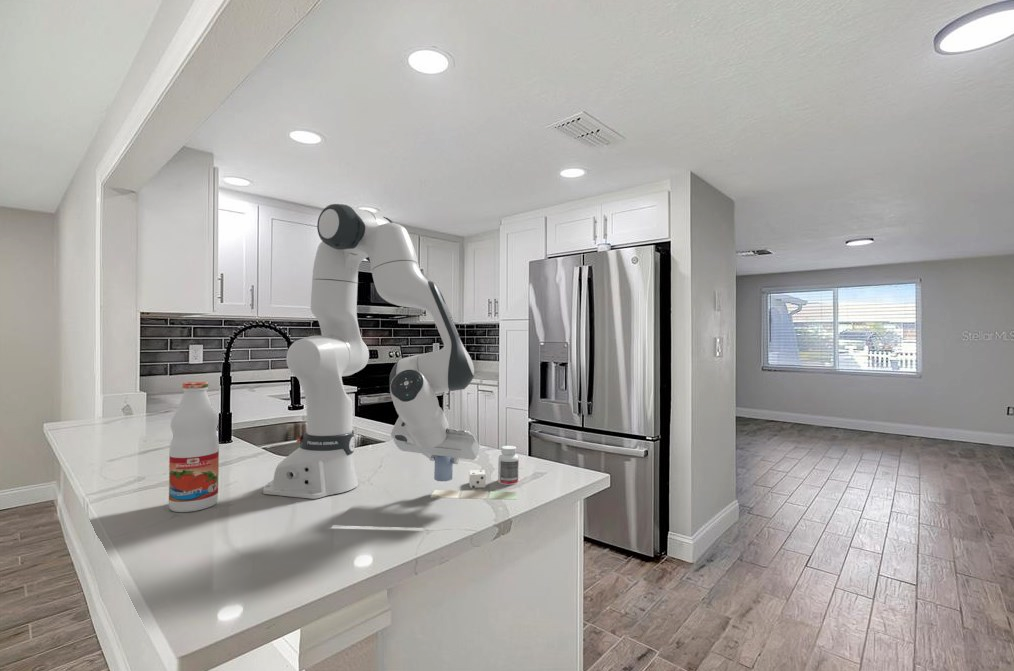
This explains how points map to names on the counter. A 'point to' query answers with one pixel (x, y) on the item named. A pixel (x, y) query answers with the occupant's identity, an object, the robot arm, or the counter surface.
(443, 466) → the pawn
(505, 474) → the pill bottle
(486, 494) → the track
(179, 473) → the fruit juice
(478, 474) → the die
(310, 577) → the counter surface
